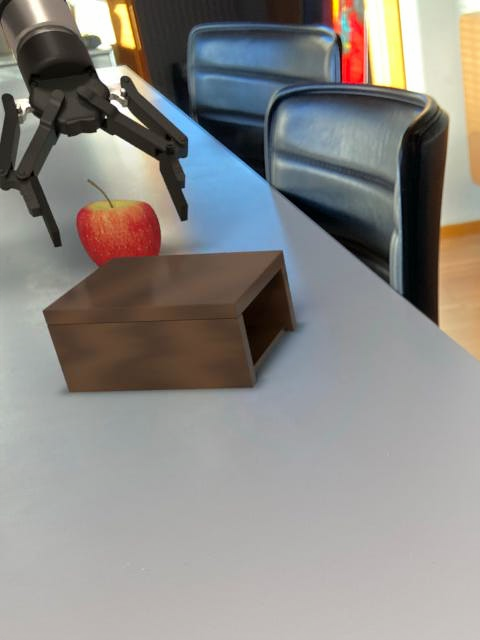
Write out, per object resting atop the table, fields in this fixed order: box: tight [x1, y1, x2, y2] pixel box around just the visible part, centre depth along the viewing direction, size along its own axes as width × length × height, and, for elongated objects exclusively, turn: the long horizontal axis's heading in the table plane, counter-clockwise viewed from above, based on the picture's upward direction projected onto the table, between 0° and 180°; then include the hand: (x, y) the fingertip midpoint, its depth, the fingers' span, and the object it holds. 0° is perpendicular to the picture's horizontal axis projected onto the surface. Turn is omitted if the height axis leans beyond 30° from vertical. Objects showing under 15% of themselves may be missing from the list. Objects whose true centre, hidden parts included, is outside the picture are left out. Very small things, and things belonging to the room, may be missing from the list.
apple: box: [75, 178, 162, 268], centre depth 109 cm, size 8×8×10 cm
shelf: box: [42, 249, 298, 393], centre depth 87 cm, size 16×14×7 cm
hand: (122, 226), depth 108 cm, fingers open, 13 cm apart
